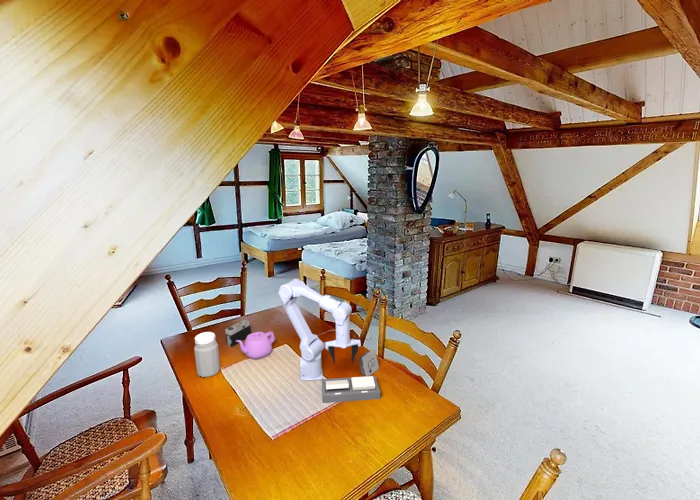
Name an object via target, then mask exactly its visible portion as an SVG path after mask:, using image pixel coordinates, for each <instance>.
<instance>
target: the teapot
mask: <svg viewBox="0 0 700 500" xmlns="http://www.w3.org/2000/svg"><path fill="white" fill-rule="evenodd" d="M275 340H276V338H275V334H274V332H273V331H272V330H270V331H268V332H263V331H256V332H252V333H251V334H249V335H248V336H247V337H246V340H244V341H241V340H236V341H237V342H239V344H238V345H239V346H240V347H239V348H240V351H241V352H242V353H244V354H245V356H247V357H248V358H249V359H251V360H259V359H262V358H265V357H267V356H269V355H270V354H271V352H272V351H273V347H272V344H273V343H274V342H275ZM243 342H244V343H243Z"/></svg>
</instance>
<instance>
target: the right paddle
mask: <svg viewBox="0 0 700 500" xmlns="http://www.w3.org/2000/svg"><path fill="white" fill-rule="evenodd" d="M373 376H374V375H371V376H368V377H366V376H353V378H351V382H352V389H353V390H368V389H375V383H374V378H373Z"/></svg>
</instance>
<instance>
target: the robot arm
mask: <svg viewBox="0 0 700 500" xmlns="http://www.w3.org/2000/svg"><path fill="white" fill-rule="evenodd" d="M277 293H278V296H279V297H280V300H281V304H282V306H283V308H284V311H285V312H286V314H287V316H288V318H289V320H290V322H291V324H292V326H293V328H294V330H295V331H296V334H297V336H298V338H299V339H300V343H299V350H300V353H301V354H300V355H301V356H300V357H299V363H300V364H299V367H300V369H299V373H300V381H303V382H304V381H319V380H322V379H324V378H323V368H322V351H323V350H324V349H325V347H324V343H325V344H326V348H328V350H329V351H328V350H327V351H328V353H329V354H330V357H331V358H332V363H333V364H334V365H336V356H335V355H336V354H335V353H336V351H335V348H341V349H346V348H347V347H351V358H350V360H351V363H352V364H353V363H354V361H355V359H356V358H355V357H356V354H357V353H358V351H359V347H361V345H362V343H361V342H362V341H361V339H355V340H353V339H354V338H351V337H350V336H351V333H350V332H351V331H350V330H351V329H350V328H351V326H350V315H351V313H352V306H351V305H350V303H348V301H347V302H346V301H340V300H336V299H335V298H333V297H332V296H331V295H327V294H325V295H324V294H323V295H322V294H320V293H319V292H317V291H315V290H314V289H312V288H311V287H309V286H308V285H306V284H305V281H302V280H300V279H299V278H294V279H292V280H291V281H288V282H286V283H285V284H282V285H280V287H279V288H278V292H277ZM302 296H303V297H304V298H307V299H309V300H311V301H313V302H315V303H318V306H319V308H320V309H322V310H324V311H326V312H328V313H329V314H331V315H332V316H333V318H334V320H335V330H336V331H335V340H330V341H325V342H323V341H322V340H321V339H320V337H318V336H319V335H318V336H317V334H314V333H312V331H311V329H310V327H309V325H308V323H307V321H306V319H305V317H304V315H303V313H302V311H301V310H300V307H299V305H298V304H297V301H298V300H297V299H298V297H302Z"/></svg>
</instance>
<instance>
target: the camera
mask: <svg viewBox="0 0 700 500" xmlns="http://www.w3.org/2000/svg"><path fill="white" fill-rule="evenodd" d="M251 332H252V331H251V323H250V321H249V320H247V319H243V320H240V321H239V322H236V323H235V324H233V325H231V326H229V327H227V328H226V329H225V340H226V341H225V342H226V346H227V345H229V346H231V347H232V346H234V345H235V346H237V345H239V344H238V343H239V342H237V341H236V340H241V341H242V342H244V341H245V339H246V337H247V336H248V335H249V334H252V333H251ZM243 340H244V341H243ZM236 344H237V345H236ZM235 346H234V347H235ZM231 347H230V348H231ZM232 348H233V347H232Z"/></svg>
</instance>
